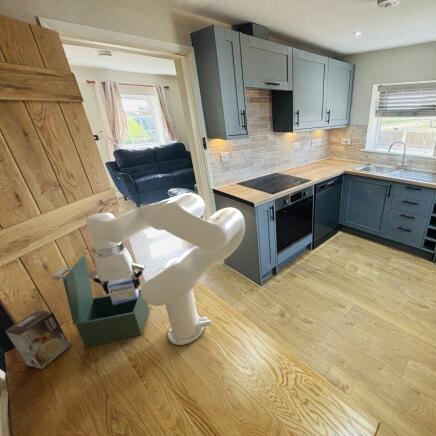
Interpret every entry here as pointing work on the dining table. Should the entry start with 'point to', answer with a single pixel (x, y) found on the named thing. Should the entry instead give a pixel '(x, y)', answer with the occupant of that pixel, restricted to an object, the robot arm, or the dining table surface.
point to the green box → (111, 320)
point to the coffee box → (38, 338)
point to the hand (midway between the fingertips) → (123, 288)
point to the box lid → (76, 287)
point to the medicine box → (122, 290)
